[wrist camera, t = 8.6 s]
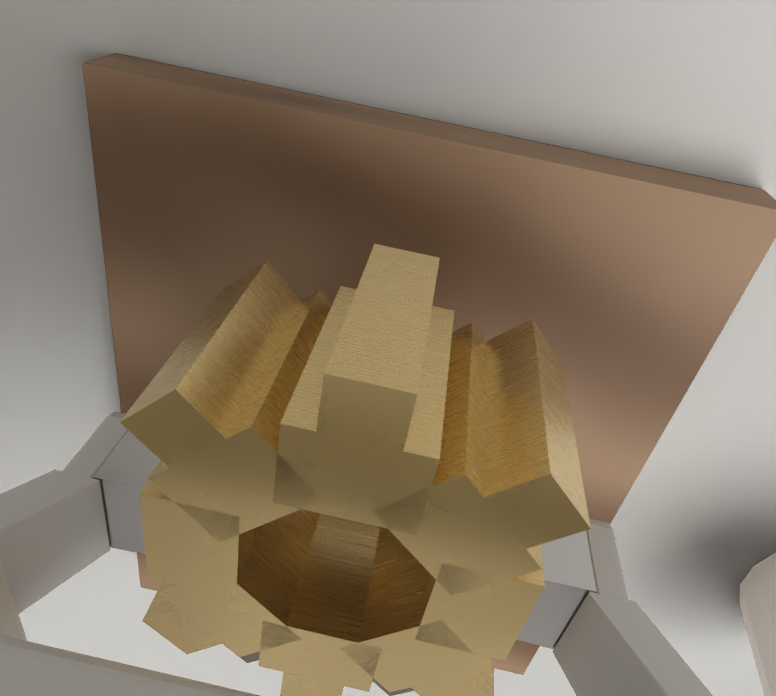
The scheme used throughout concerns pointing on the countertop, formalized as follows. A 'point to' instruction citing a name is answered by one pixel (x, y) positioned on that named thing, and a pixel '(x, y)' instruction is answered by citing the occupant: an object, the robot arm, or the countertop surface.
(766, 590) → the white short cylinder
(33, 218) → the countertop surface
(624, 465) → the gear board
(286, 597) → the brass gear
